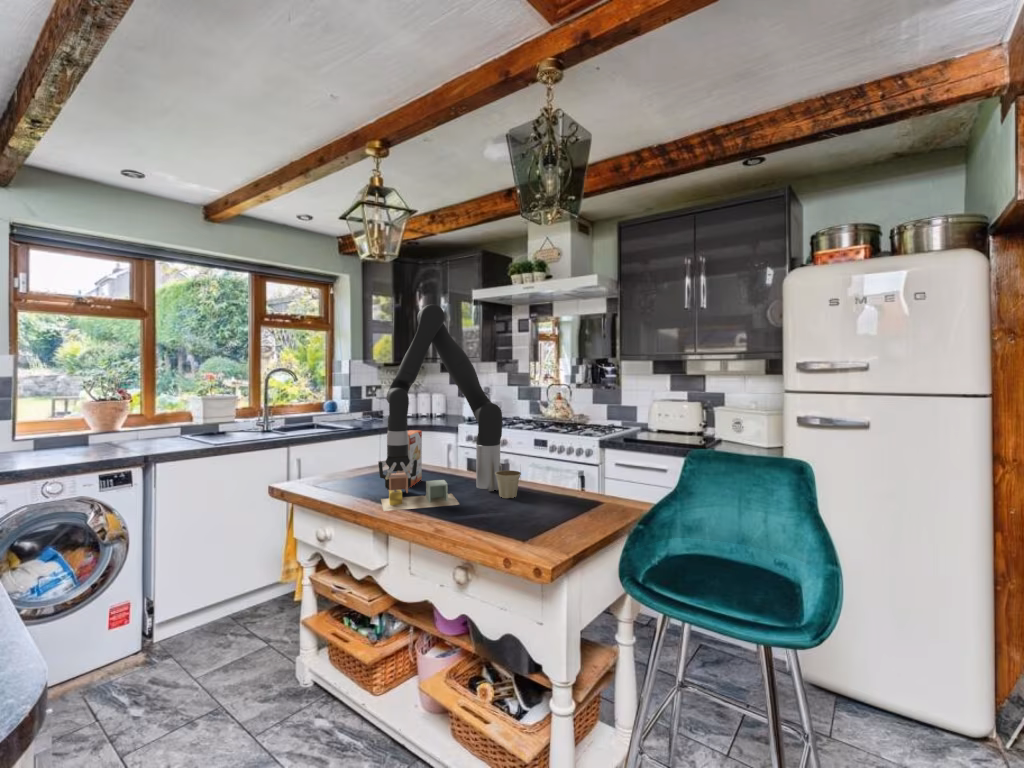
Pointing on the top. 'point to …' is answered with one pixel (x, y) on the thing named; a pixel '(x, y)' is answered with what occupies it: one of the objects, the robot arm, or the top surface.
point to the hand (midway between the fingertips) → (397, 488)
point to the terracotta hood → (398, 481)
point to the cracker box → (414, 454)
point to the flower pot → (508, 483)
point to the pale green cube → (436, 489)
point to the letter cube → (395, 497)
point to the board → (419, 502)
